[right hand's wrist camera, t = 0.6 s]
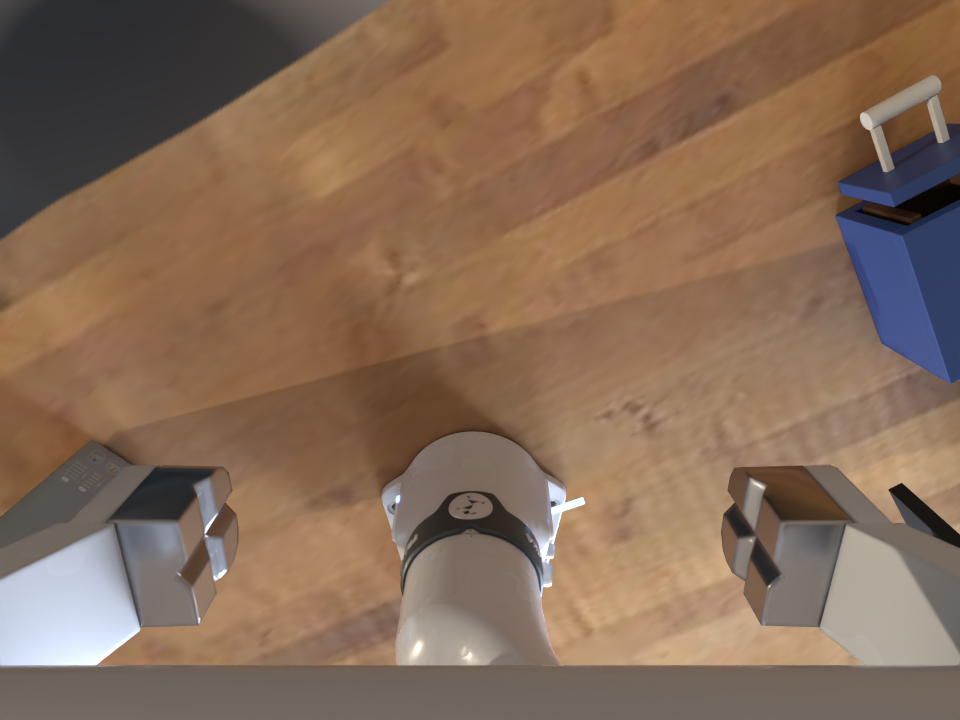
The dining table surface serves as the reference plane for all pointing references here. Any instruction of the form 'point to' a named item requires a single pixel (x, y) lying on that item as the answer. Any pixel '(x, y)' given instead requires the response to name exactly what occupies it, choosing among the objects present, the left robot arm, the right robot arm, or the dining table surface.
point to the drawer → (909, 161)
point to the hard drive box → (61, 493)
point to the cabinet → (911, 283)
